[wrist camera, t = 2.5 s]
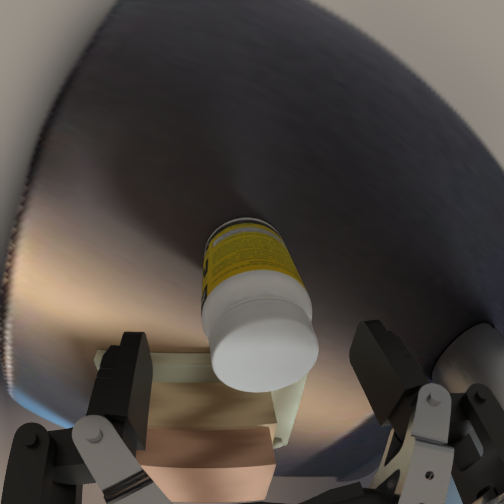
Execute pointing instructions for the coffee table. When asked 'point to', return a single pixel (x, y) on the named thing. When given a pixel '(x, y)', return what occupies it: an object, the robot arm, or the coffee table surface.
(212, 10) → the coffee table surface
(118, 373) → the robot arm
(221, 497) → the stepped pedestal block
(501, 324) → the coffee table surface
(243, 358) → the supplement bottle
